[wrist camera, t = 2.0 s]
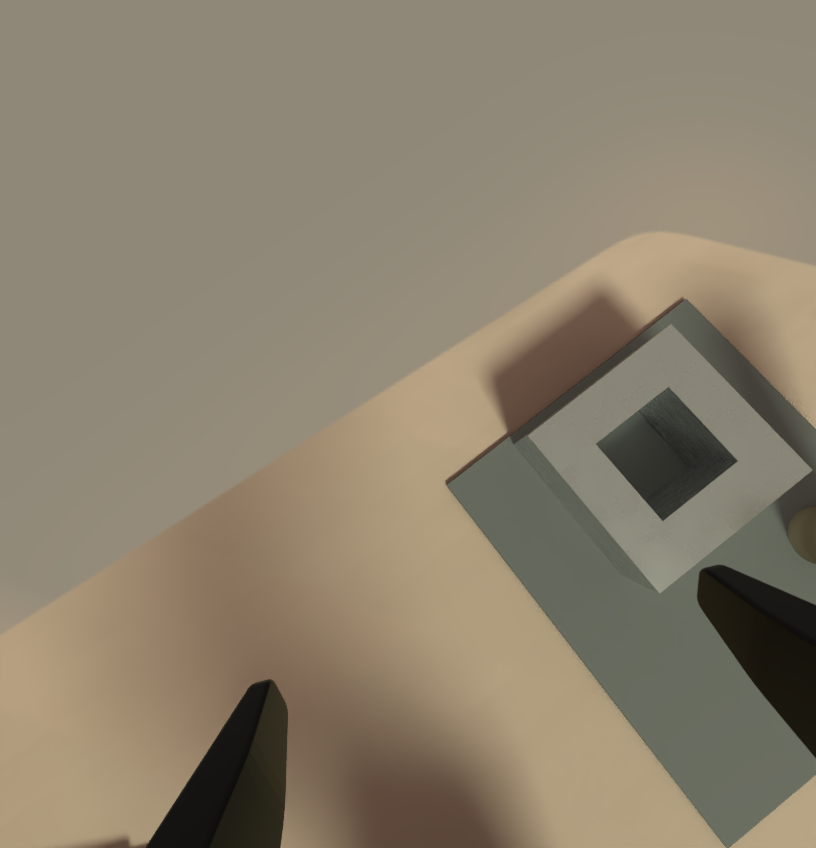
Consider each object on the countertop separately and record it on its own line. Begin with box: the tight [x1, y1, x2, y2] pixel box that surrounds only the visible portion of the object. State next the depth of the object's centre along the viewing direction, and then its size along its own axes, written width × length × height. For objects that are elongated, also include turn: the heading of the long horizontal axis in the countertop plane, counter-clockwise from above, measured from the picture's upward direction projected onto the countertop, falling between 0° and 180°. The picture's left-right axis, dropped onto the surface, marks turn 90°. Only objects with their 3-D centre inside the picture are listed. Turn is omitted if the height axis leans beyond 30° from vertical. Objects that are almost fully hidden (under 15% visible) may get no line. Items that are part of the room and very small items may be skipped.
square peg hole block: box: [513, 324, 812, 594], centre depth 21 cm, size 9×9×4 cm
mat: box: [447, 299, 816, 848], centre depth 22 cm, size 22×18×1 cm
